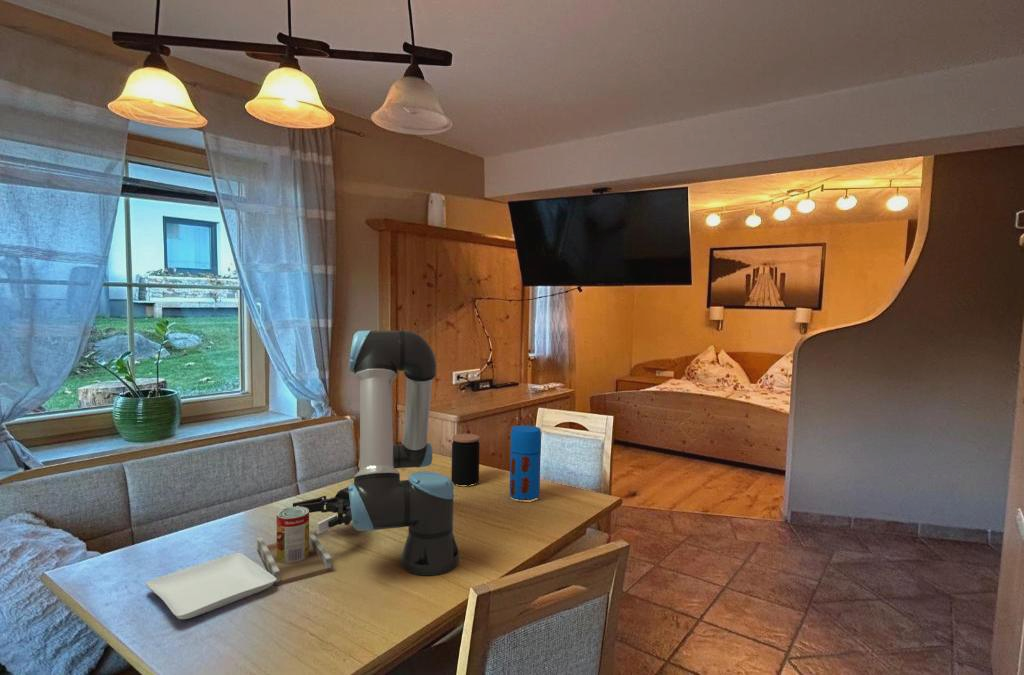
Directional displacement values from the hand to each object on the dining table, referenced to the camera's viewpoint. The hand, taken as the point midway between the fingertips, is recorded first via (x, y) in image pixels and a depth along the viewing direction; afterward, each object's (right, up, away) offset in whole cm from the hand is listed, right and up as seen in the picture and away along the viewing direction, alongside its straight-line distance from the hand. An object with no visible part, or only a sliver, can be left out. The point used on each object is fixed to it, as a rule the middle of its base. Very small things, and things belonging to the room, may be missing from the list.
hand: (298, 523), depth 140 cm
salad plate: (-13, -10, -17) cm, 24 cm away
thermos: (+61, -8, +49) cm, 79 cm away
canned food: (-1, -8, -2) cm, 8 cm away
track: (-1, -9, -2) cm, 9 cm away
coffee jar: (+39, -7, +63) cm, 75 cm away
